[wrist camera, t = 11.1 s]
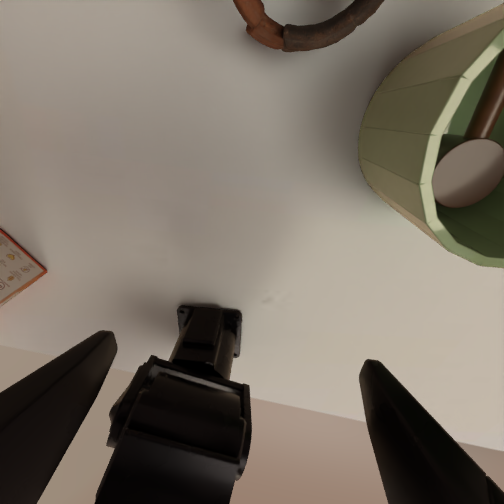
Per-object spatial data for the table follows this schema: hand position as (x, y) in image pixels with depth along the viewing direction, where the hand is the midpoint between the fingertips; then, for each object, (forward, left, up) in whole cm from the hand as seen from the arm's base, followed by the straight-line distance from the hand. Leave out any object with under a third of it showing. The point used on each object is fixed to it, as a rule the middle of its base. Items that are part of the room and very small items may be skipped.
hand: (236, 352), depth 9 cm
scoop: (+7, -12, -12) cm, 18 cm away
